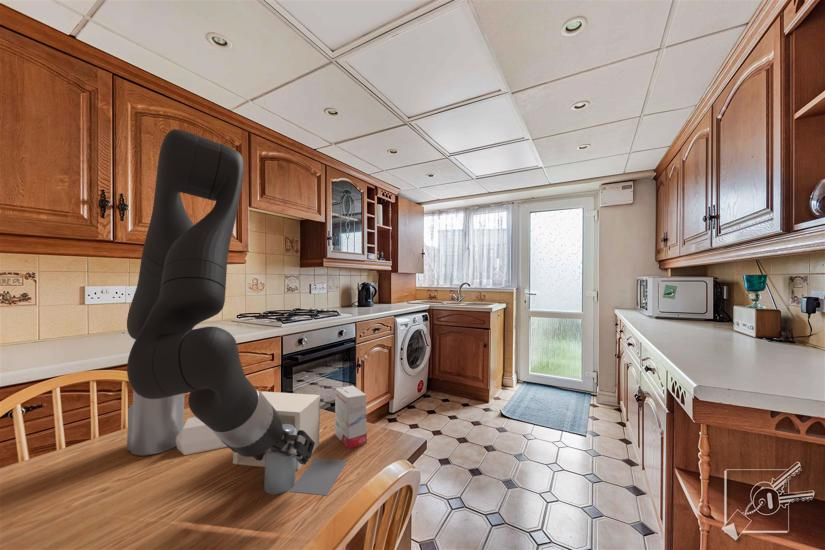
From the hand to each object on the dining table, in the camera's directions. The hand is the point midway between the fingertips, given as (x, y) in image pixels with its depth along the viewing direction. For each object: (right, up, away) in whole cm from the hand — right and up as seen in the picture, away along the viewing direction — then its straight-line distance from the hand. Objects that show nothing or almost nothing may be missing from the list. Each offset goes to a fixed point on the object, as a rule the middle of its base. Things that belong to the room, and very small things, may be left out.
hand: (283, 456), depth 60 cm
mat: (+6, -5, +2) cm, 9 cm away
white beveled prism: (-18, -6, +16) cm, 25 cm away
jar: (0, -5, -1) cm, 5 cm away
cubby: (-5, -5, +10) cm, 12 cm away
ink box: (+9, -6, +17) cm, 20 cm away
